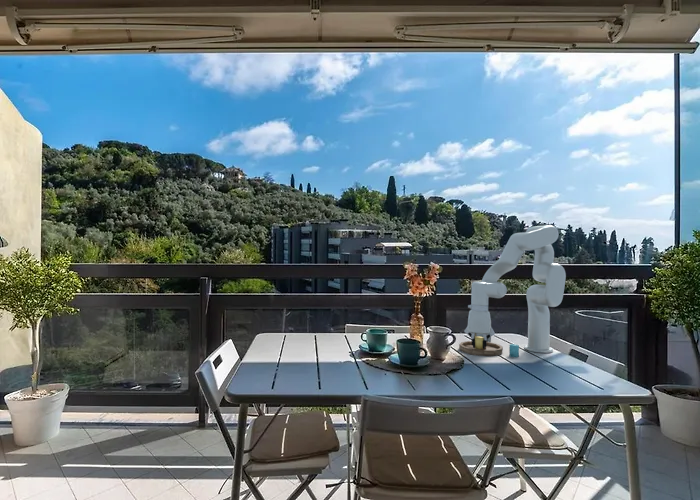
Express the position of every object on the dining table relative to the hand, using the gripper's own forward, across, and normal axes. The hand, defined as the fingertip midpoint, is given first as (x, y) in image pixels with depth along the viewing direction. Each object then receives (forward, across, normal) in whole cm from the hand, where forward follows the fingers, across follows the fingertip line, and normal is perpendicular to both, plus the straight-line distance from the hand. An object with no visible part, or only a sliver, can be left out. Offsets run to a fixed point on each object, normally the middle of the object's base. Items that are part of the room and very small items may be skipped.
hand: (479, 347), depth 192 cm
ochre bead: (0, 0, 0) cm, 0 cm away
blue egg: (+3, +15, +2) cm, 15 cm away
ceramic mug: (+3, -1, +23) cm, 24 cm away
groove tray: (+3, 0, +6) cm, 6 cm away
